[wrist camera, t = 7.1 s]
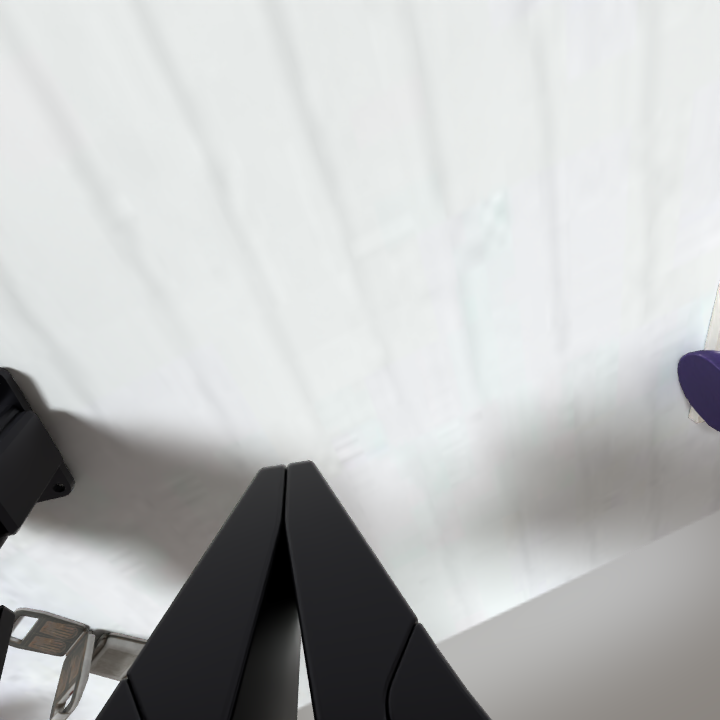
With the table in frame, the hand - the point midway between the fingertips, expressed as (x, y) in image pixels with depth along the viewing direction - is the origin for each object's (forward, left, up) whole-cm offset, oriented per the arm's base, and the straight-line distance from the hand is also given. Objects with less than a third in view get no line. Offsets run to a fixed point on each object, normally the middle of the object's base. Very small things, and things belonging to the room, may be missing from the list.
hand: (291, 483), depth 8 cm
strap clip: (-15, -19, -13) cm, 27 cm away
